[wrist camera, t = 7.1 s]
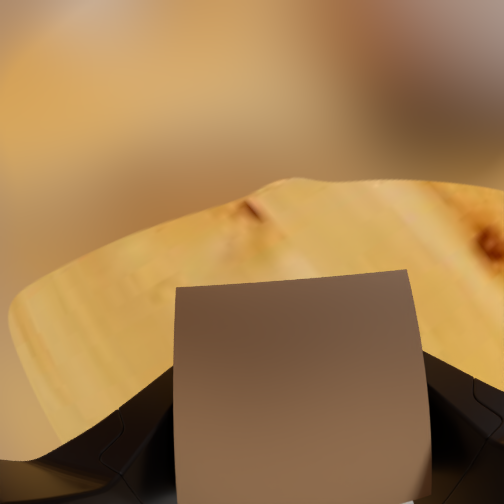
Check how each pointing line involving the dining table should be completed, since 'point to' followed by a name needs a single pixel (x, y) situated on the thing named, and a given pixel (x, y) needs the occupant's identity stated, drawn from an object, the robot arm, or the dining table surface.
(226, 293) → the walnut block
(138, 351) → the dining table surface
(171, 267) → the dining table surface
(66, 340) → the dining table surface
